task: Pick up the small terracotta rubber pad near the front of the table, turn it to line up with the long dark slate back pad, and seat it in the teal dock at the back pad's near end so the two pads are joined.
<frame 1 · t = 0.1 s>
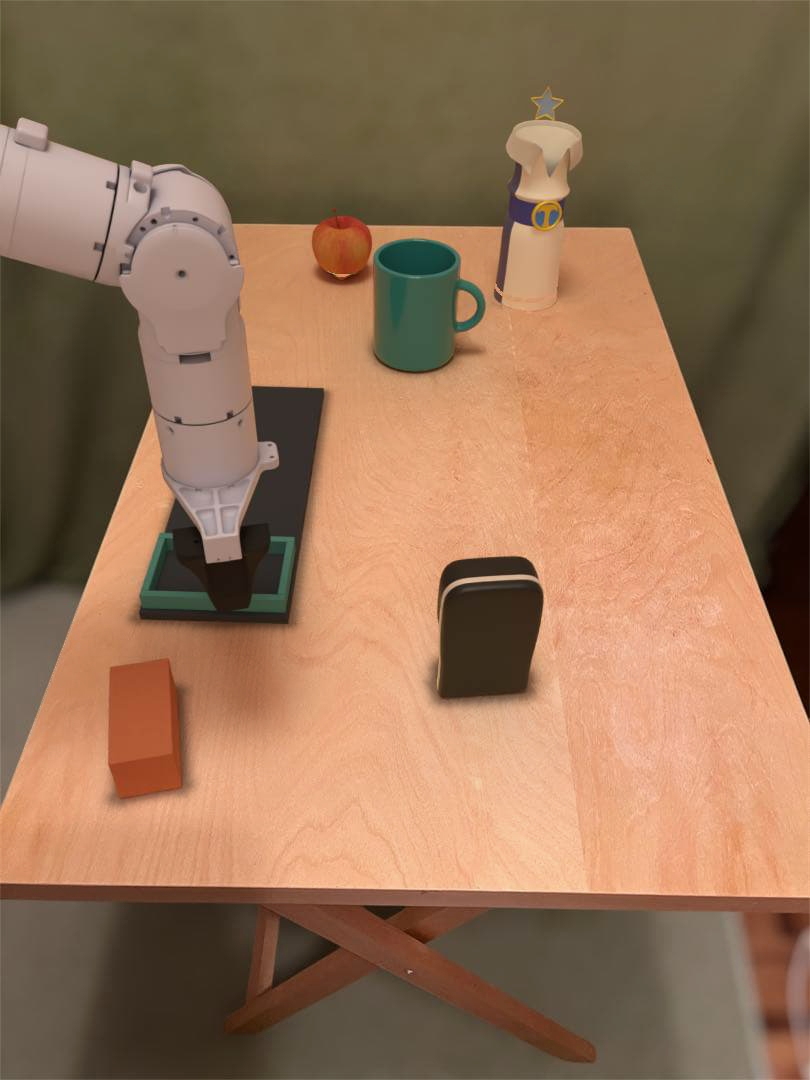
hand: (228, 565, 62), 10 cm above the table, tool pointing down, fingers open, 7 cm apart
white trophy figurine: (527, 297, 112), on the table
back pad: (245, 491, 83), on the table
pad piece: (150, 743, 63), on the table
battery charger: (479, 678, 68), on the table
cup: (427, 354, 101), on the table
apple: (342, 276, 115), on the table
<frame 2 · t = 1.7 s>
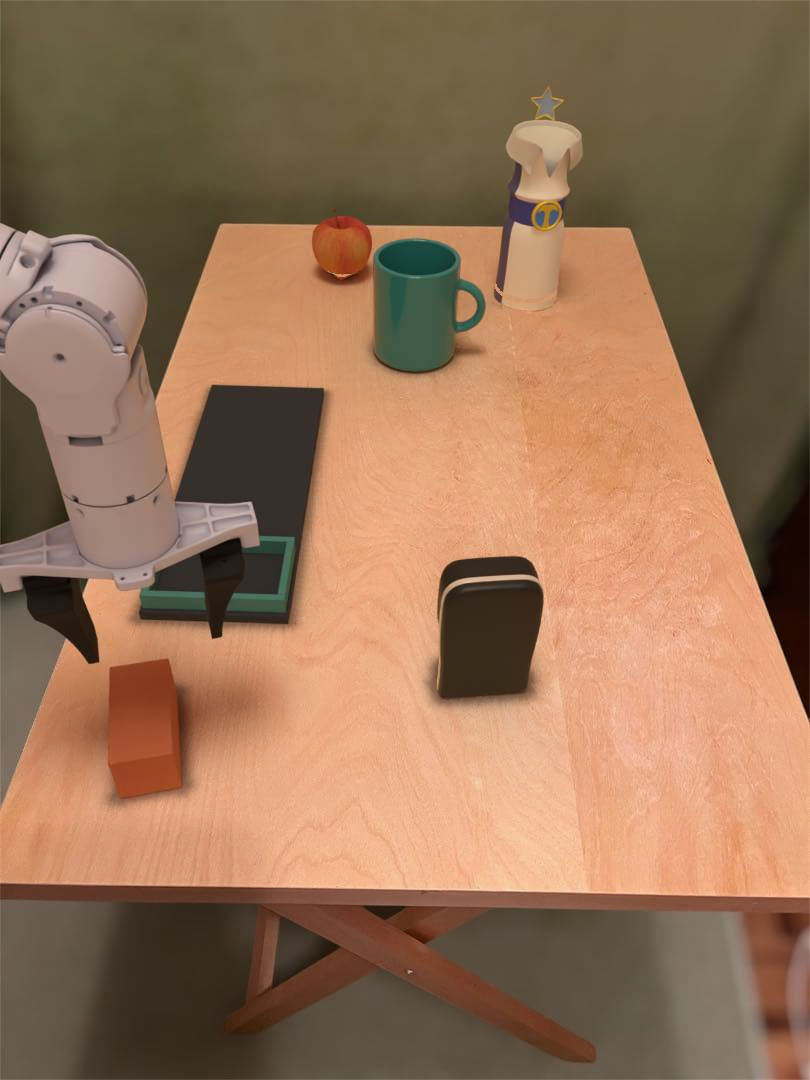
hand: (154, 639, 59), 9 cm above the table, tool pointing down, fingers open, 7 cm apart
nothing on the table moved.
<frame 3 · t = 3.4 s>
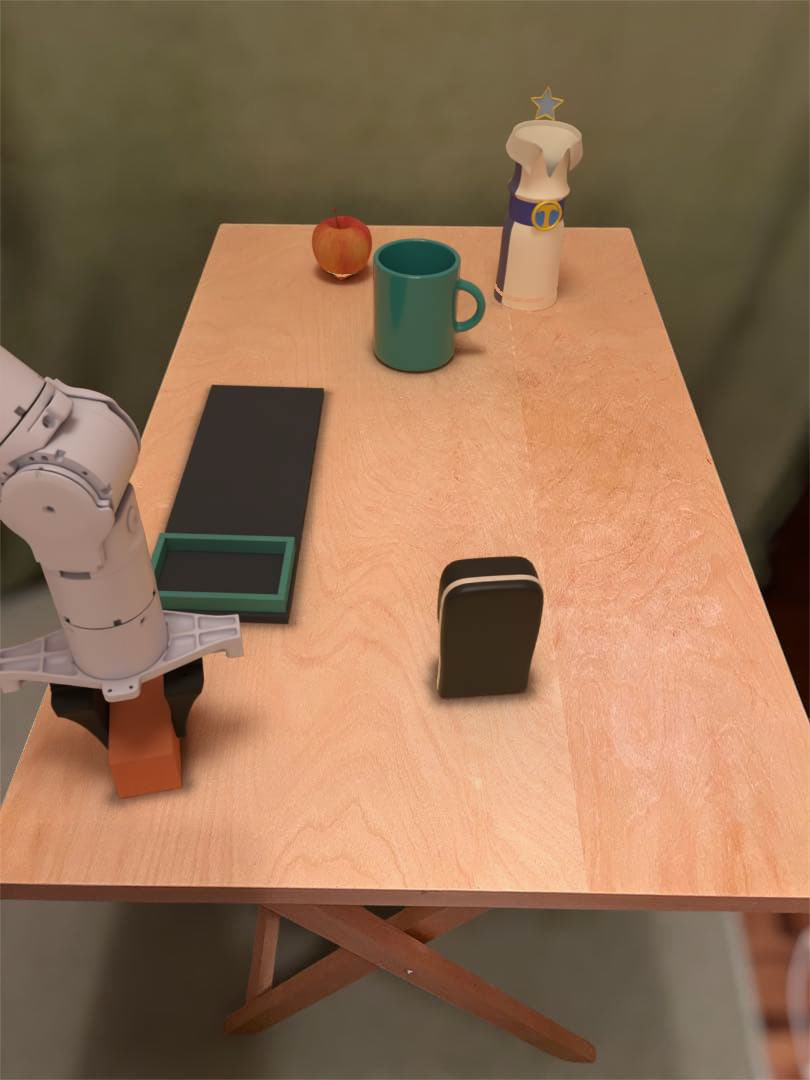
hand: (146, 731, 62), 1 cm above the table, tool pointing down, fingers closed on pad piece, 4 cm apart
pad piece: (150, 743, 63), on the table, touching gripper
everything else where it was.
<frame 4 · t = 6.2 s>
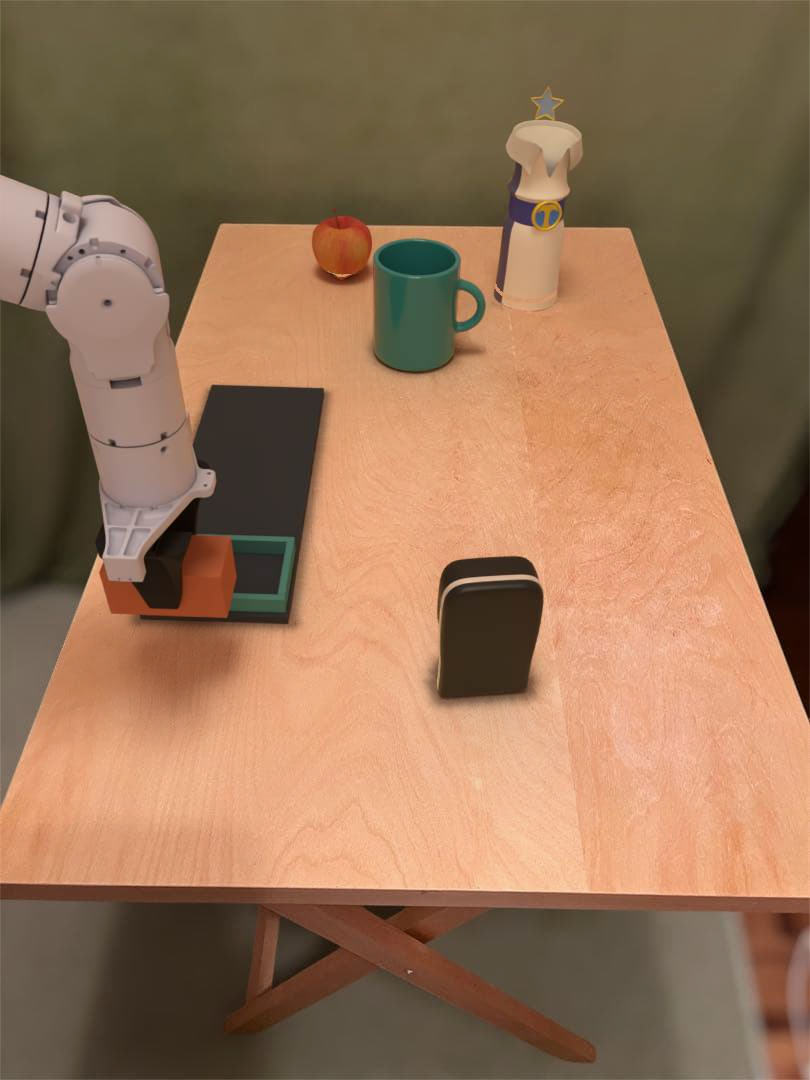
hand: (171, 581, 63), 8 cm above the table, tool pointing down, fingers closed on pad piece, 4 cm apart
pad piece: (175, 595, 64), point 7 cm above the table, touching gripper
everything else where it was.
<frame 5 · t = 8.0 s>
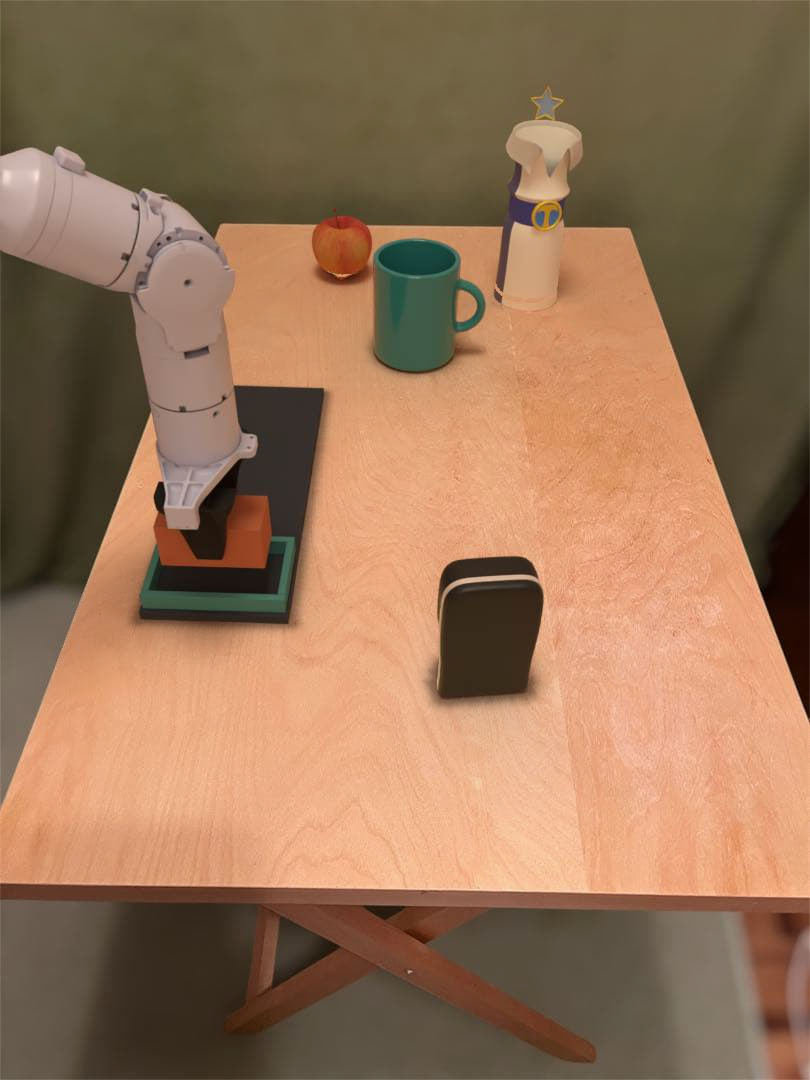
hand: (215, 536, 71), 5 cm above the table, tool pointing down, fingers closed on pad piece, 4 cm apart
pad piece: (217, 549, 72), point 4 cm above the table, touching gripper
everything else where it was.
when the fingers open (2 cm above the table, at t = 9.7 s): pad piece stays where it is, resting on back pad.
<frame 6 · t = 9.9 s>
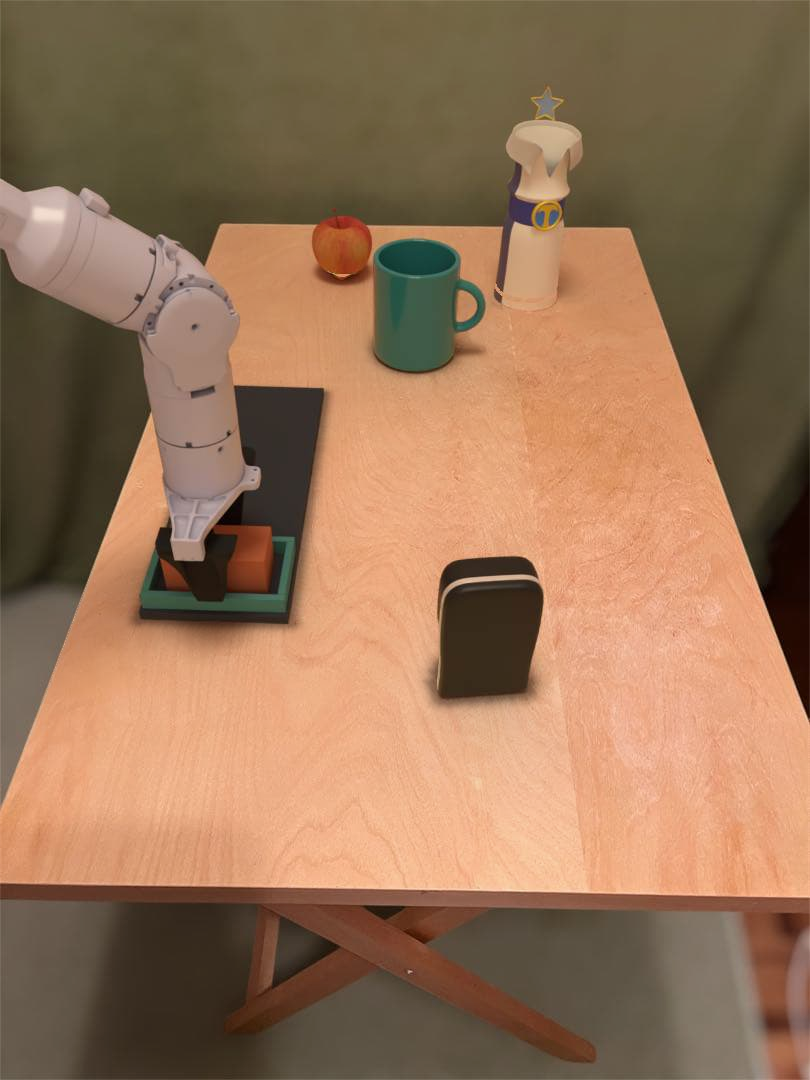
hand: (219, 563, 73), 2 cm above the table, tool pointing down, fingers open, 7 cm apart
pad piece: (222, 577, 74), point 1 cm above the table, touching back pad
everything else where it was.
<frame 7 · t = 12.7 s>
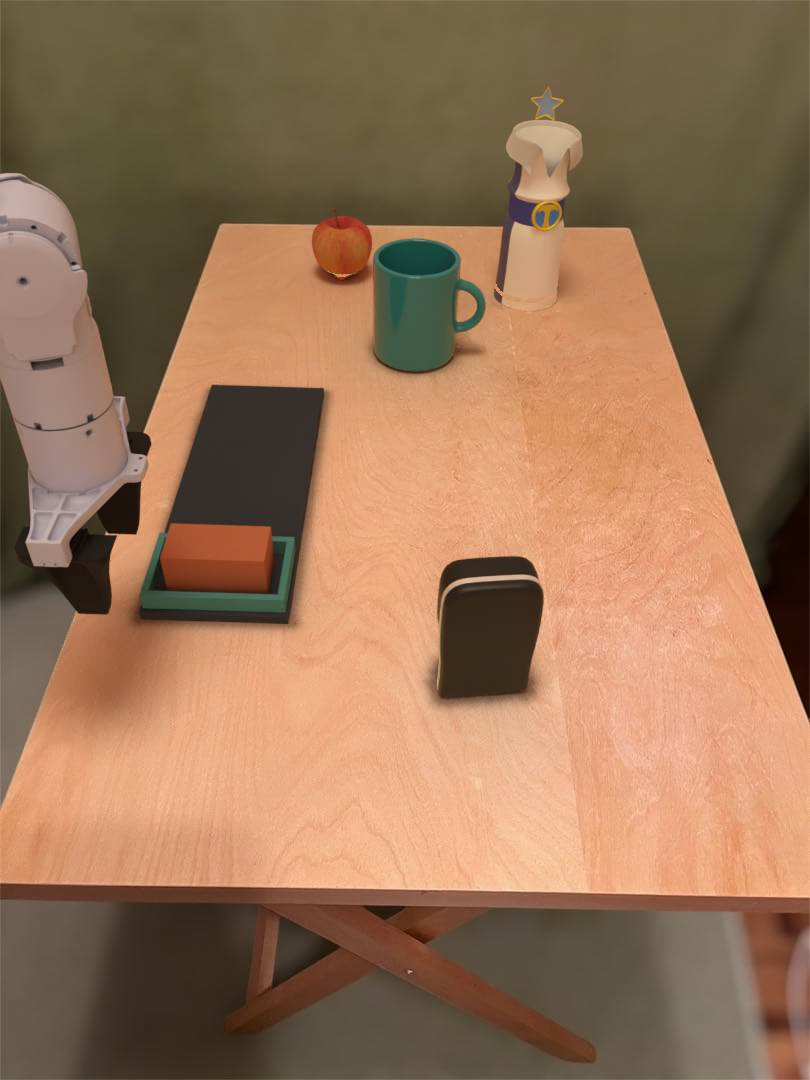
hand: (109, 568, 62), 9 cm above the table, tool pointing down, fingers open, 7 cm apart
nothing on the table moved.
at the end: pad piece 0.1 cm from the target spot on the back pad, point 0.8 cm above the back pad's base; pad piece tilted 0°; the gripper is holding nothing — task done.
